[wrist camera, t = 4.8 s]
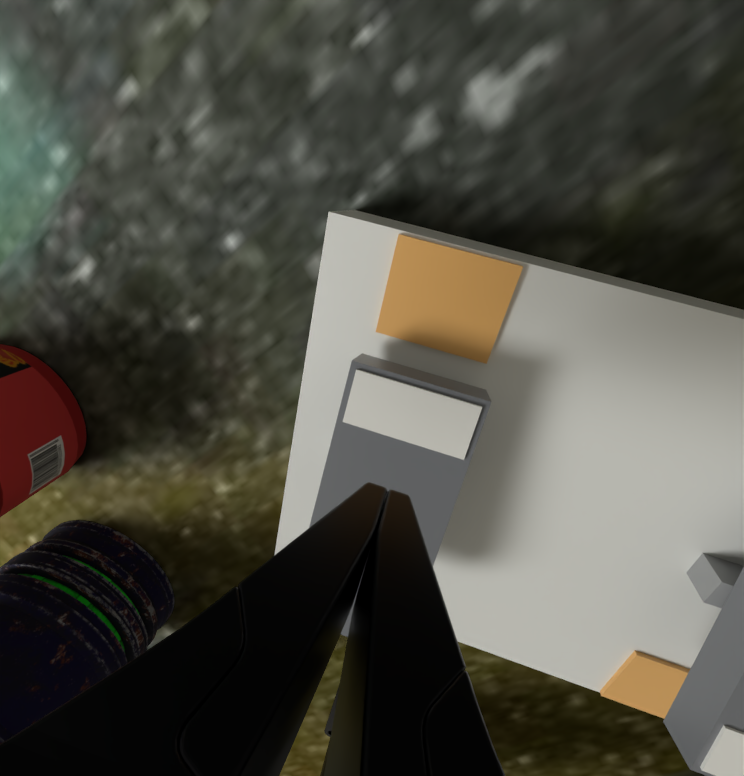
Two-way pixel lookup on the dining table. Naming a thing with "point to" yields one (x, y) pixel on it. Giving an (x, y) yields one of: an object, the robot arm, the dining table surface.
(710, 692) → the block
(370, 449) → the rocker
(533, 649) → the switch base
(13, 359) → the canned food
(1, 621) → the storage jar
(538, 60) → the dining table surface
